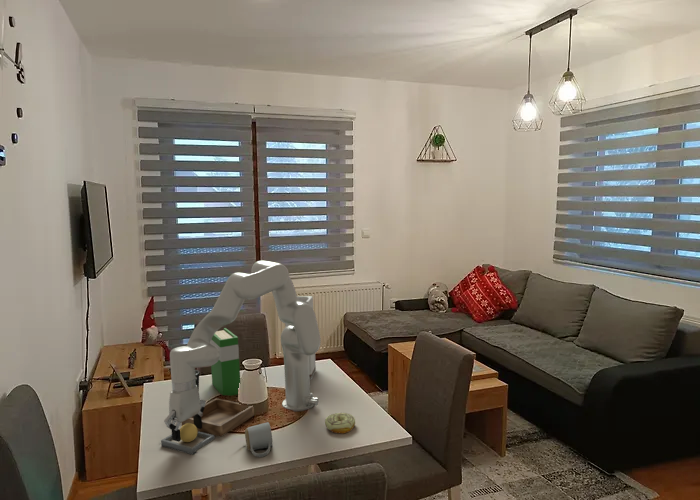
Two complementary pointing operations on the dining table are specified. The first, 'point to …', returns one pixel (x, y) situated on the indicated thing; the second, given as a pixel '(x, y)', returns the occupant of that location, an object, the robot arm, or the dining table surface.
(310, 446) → the dining table surface
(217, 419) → the walnut box
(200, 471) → the dining table surface
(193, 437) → the ball
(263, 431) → the ceramic mug
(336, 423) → the decorated donut
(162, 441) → the dish
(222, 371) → the hardback book
